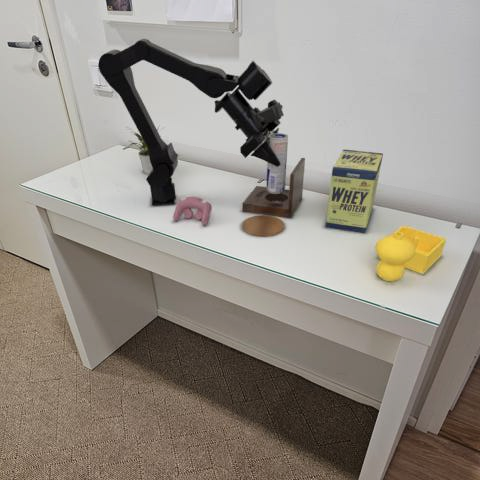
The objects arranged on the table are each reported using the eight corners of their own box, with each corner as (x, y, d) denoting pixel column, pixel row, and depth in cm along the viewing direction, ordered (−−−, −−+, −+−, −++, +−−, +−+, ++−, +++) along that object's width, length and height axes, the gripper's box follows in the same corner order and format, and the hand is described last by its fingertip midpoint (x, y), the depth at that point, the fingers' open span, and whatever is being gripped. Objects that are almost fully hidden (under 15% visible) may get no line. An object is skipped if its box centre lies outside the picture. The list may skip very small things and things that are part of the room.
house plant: (119, 170, 148) (109, 119, 138) (153, 160, 156) (146, 111, 145) (142, 181, 140) (134, 128, 130) (177, 170, 147) (171, 119, 137)
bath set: (399, 242, 107) (409, 200, 100) (440, 256, 102) (454, 213, 95) (357, 276, 95) (365, 232, 89) (402, 294, 90) (414, 248, 83)
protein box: (324, 227, 114) (331, 168, 104) (335, 203, 125) (343, 148, 115) (365, 233, 111) (376, 173, 101) (373, 208, 122) (383, 152, 112)
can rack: (242, 211, 122) (242, 203, 120) (256, 193, 131) (256, 185, 130) (291, 218, 118) (292, 209, 117) (302, 199, 128) (302, 191, 126)
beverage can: (284, 188, 123) (288, 132, 114) (284, 195, 119) (288, 138, 110) (266, 187, 123) (268, 131, 114) (265, 194, 119) (267, 137, 110)
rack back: (287, 217, 118) (290, 174, 111) (298, 198, 128) (301, 157, 120) (291, 218, 118) (294, 174, 111) (301, 199, 128) (305, 157, 120)
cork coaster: (245, 238, 110) (245, 236, 110) (239, 218, 118) (239, 216, 118) (288, 234, 111) (288, 232, 111) (279, 215, 119) (279, 213, 119)
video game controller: (211, 226, 119) (214, 199, 117) (205, 226, 114) (208, 198, 113) (178, 221, 121) (181, 195, 120) (171, 220, 117) (173, 194, 115)
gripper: (253, 99, 100) (296, 153, 104) (274, 83, 113) (312, 131, 117) (221, 132, 106) (263, 181, 111) (245, 113, 120) (282, 158, 124)
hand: (281, 162), depth 116 cm, fingers closed on beverage can, 5 cm apart
